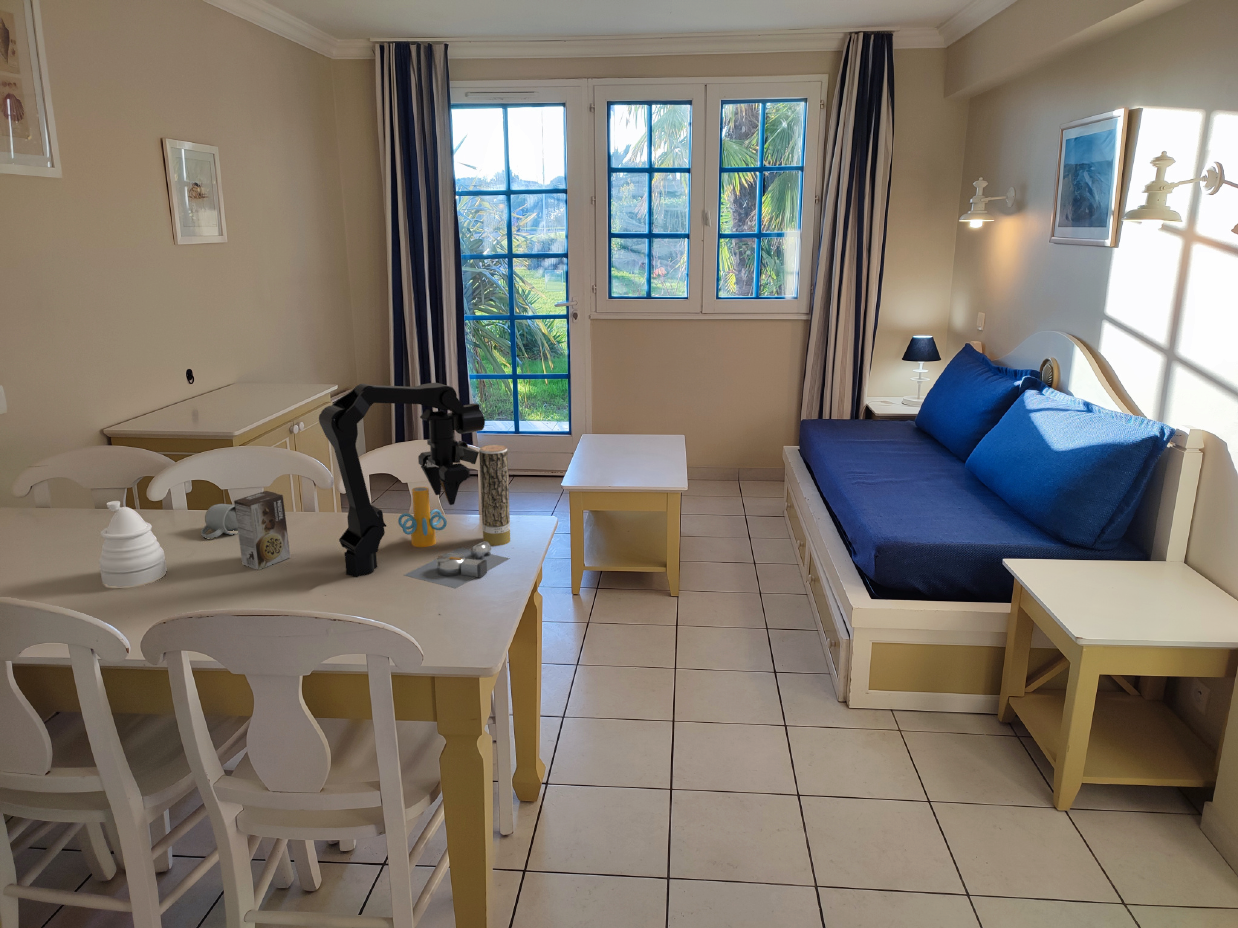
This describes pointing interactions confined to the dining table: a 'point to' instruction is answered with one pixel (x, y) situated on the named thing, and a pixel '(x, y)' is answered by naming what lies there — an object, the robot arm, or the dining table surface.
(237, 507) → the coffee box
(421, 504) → the cylinder
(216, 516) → the ceramic mug
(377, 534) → the robot arm
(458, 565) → the dial knob with block
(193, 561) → the dining table surface
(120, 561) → the honey pot
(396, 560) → the dining table surface
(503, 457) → the bark covered log
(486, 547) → the duct stub
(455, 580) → the mat
